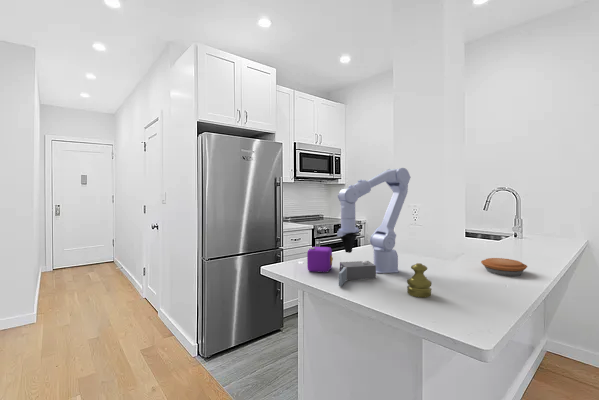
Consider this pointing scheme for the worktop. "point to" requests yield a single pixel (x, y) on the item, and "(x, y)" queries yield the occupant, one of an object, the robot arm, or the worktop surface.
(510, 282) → the worktop surface
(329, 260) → the toy camera
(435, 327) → the worktop surface
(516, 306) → the worktop surface
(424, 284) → the olive chess piece
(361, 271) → the block
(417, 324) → the worktop surface
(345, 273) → the door
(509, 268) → the pie
